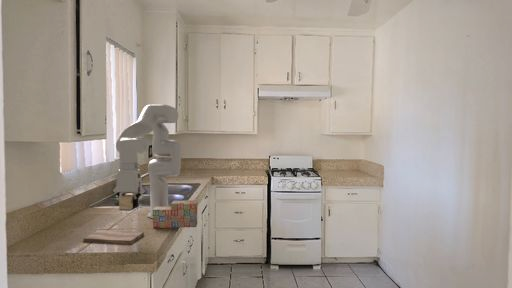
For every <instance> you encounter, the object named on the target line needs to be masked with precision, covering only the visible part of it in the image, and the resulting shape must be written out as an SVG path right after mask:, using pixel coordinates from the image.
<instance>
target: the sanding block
mask: <svg viewBox="0 0 512 288" xmlns="http://www.w3.org/2000/svg"><path fill="white" fill-rule="evenodd" d="M133 199H134V197H133V194H132V193H128V192H127V193H125V195H122V196H120V197H118V211H122V212H123V211H125V212H126V211H127V212H131V211H133V210H135V209H137V208H139V207H140V197H139V198H138V207H136V208H133Z"/></svg>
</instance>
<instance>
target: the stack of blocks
mask: <svg viewBox="0 0 512 288" xmlns="http://www.w3.org/2000/svg"><path fill="white" fill-rule="evenodd" d="M197 225H198V201H197V200H190V199H188V200H186V199H185V200H172V202H171V205H170V207H155V208H154V209H153V218H152V227H153V229H154V228H155V229H156V228H158V229H159V228H161V229H162V228H164V229H165V228H166V229H167V228H169V229H171V228H172V229H173V228H175V229H176V228H197Z"/></svg>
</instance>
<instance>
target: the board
mask: <svg viewBox="0 0 512 288" xmlns="http://www.w3.org/2000/svg"><path fill="white" fill-rule="evenodd" d="M144 233H145V232H144V231H129V230H127V231H126V230H107V229H106V230H105V229H99V230H97V231H94V232H93V233H91V234H90V235H89V234H88V235H87V236H86V237H84V238H82V239H83V240H82V241H83V242H84V243H101V244H116V245H132V244H134V243H135V242H137V241H138V240H139V239H141V238H142V237H143V236H144V235H145V234H144Z"/></svg>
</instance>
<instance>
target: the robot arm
mask: <svg viewBox="0 0 512 288" xmlns="http://www.w3.org/2000/svg"><path fill="white" fill-rule="evenodd" d="M179 115H180V114H179V111H178V110H177V108H176V107H174V106H171V105H167V104H147V105H145V106H144V108H143V109H142V111H141V113H140V115H139V117H138V119H137V121H136V122H134V123H132V124H130V125H129V126H127V127H125V128H124V129H123V130H122V131H121V132H120V133H119V136H118V137H117V141H116V143H115V149H116V151H117V152H118V154H119V156H118V157H119V169H118V171H117V176H116V186H115V187H114V188H113V190H112V191H113V193H115V195H116V196H117V197H118V198H119V197H120V196H122V195H125V194H128V193H132V194H133V197H134V199H133V208H135V209H137V208H139V207H138V198H139V199H140V197H141V196H142V194H144V193H145V192H146V190H145V188H144V187H143V182H142V181H143V180H142V174H141V170H140V169H139V168H140V167H141V164H140V163H139V162H138V155H142V154H145V153H147V152H148V150H149V147H150V143H149V141H148V140H147V139H146V138H144V136H146V135H147V134H150V133H152V145H151V146H152V147H151V148H152V149H151V152H152V155H153V156H154V157H157V158H155V159H151V160H150V161H149V162H148V164H147V171H148V172H147V173H148V176H149V196H150V197H149V198H150V200H149V202H150V203H149V204H150V208H149V209H150V211H149V213H147V217H148V218H149V219H153V209H154V208H155V207H171V205H169V185H168V184H169V183H168V182H167V180H166V178H165V177H168V178H169V177H178V176H179V175H180V173H181V167H182V166H181V164H182V145H181V142H180V141H179V140H176V139H169V137H170V136H169V135H170V134H169V133H170V132H169V130H168V128H167V126H166V125H165V124H176V123H177V122H178V120H179ZM160 157H161V158H160ZM165 158H168V159H165ZM169 158H170V159H169ZM136 207H137V208H136Z"/></svg>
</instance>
